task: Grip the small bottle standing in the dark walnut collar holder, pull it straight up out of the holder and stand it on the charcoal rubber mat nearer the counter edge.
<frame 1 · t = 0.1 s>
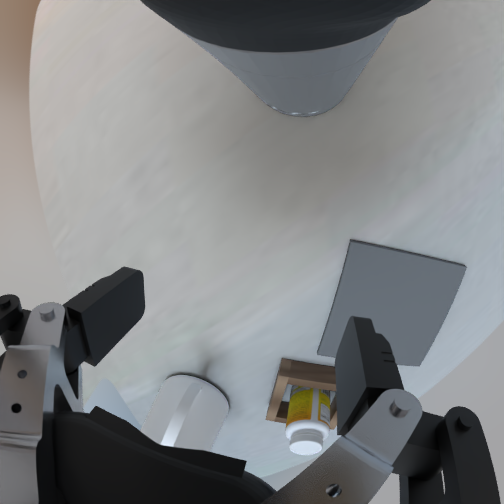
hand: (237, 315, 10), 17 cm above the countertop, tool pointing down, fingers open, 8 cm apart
supplement bottle: (310, 388, 34), resting in collar holder
rubber mat: (392, 312, 27), on the countertop
collar holder: (310, 389, 33), on the countertop
coffeepot: (196, 396, 39), on the countertop
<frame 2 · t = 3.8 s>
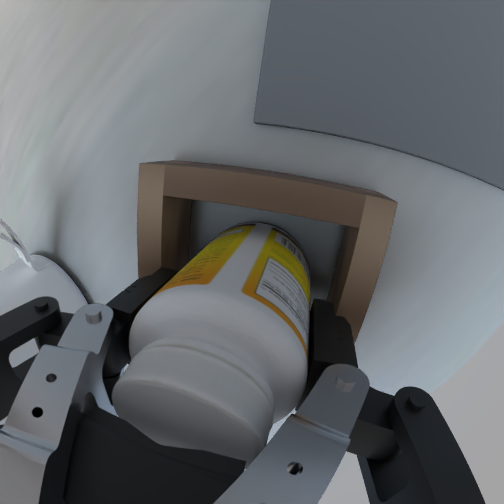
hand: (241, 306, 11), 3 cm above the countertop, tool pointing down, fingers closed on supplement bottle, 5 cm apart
supplement bottle: (258, 269, 14), resting in collar holder, touching gripper
rubber mat: (413, 27, 8), on the countertop
collar holder: (257, 271, 14), on the countertop
coffeepot: (61, 315, 19), on the countertop
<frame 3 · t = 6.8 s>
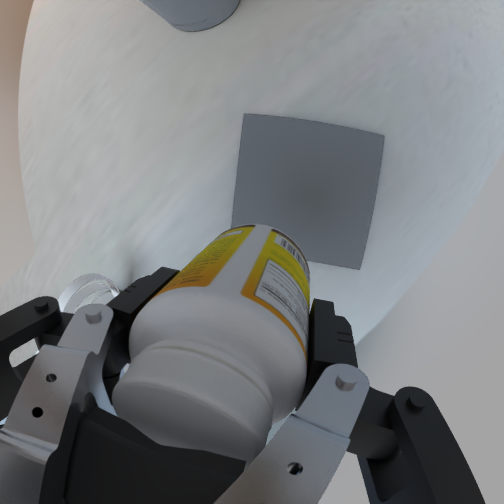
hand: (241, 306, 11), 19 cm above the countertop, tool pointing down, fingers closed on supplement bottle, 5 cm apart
supplement bottle: (258, 270, 14), point 15 cm above the countertop, touching gripper
rubber mat: (305, 190, 27), on the countertop
coffeepot: (127, 324, 38), on the countertop
when the fingers open (5 cm above the countertop, at t = 10.3 s): supplement bottle drops 1 cm, resting on rubber mat.
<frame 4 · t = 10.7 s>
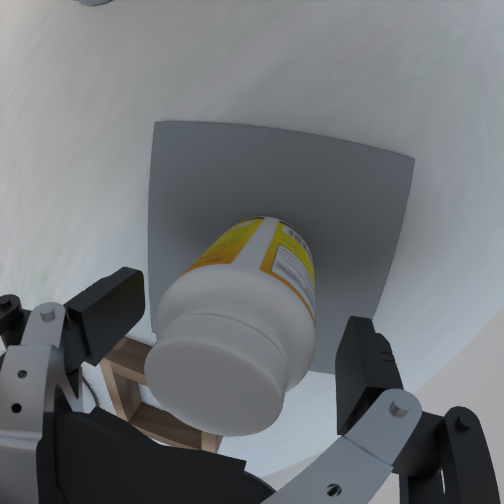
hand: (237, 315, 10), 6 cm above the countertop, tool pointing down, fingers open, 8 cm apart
supplement bottle: (266, 260, 15), resting on rubber mat
rubber mat: (263, 257, 16), on the countertop
collar holder: (172, 392, 21), on the countertop
coffeepot: (68, 382, 27), on the countertop
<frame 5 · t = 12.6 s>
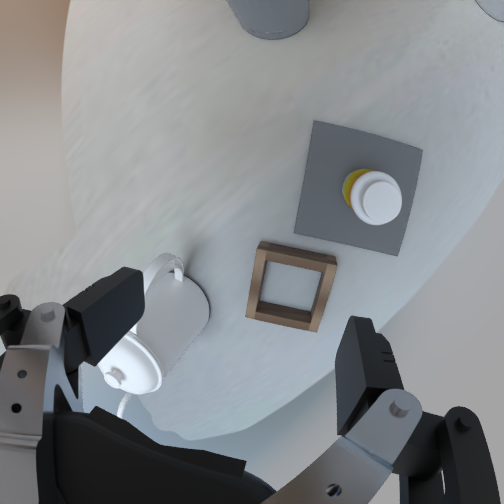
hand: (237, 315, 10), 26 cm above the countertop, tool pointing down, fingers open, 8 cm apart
pill bottle: (488, 3, 15), on the countertop
supplement bottle: (362, 189, 31), resting on rubber mat
rubber mat: (360, 189, 31), on the countertop
collar holder: (290, 283, 37), on the countertop
coffeepot: (178, 304, 42), on the countertop
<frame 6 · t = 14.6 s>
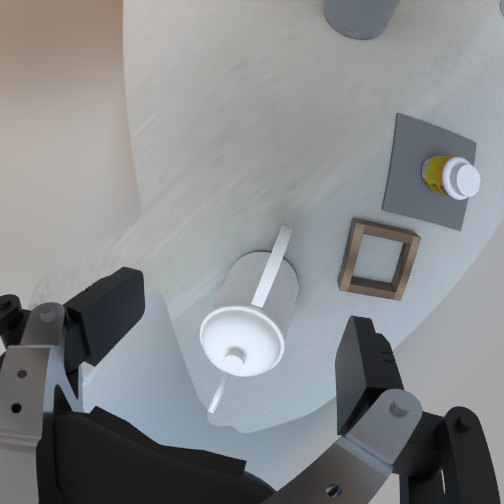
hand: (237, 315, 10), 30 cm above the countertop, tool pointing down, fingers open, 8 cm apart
supplement bottle: (435, 173, 32), resting on rubber mat
rubber mat: (432, 173, 32), on the countertop
collar holder: (376, 257, 38), on the countertop
coffeepot: (262, 285, 43), on the countertop
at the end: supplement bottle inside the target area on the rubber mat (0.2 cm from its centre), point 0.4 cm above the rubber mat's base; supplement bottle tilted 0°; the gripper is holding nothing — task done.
